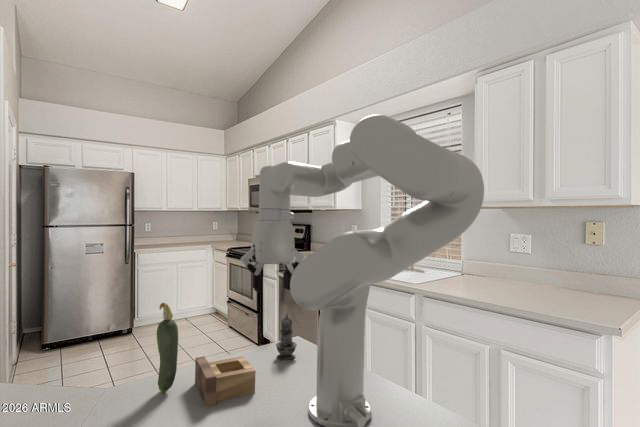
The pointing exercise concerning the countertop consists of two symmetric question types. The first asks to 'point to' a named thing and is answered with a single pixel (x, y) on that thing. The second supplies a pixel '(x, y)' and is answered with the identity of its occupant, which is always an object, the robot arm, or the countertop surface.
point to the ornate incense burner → (286, 341)
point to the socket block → (233, 378)
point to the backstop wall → (205, 381)
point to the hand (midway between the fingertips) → (272, 289)
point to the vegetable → (167, 349)
